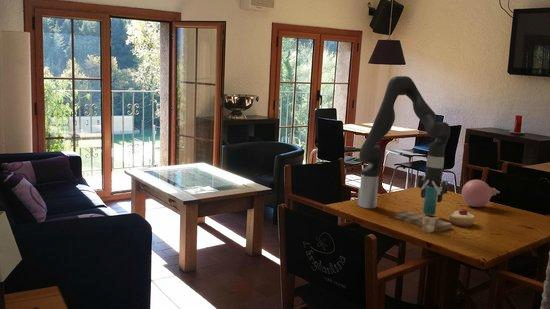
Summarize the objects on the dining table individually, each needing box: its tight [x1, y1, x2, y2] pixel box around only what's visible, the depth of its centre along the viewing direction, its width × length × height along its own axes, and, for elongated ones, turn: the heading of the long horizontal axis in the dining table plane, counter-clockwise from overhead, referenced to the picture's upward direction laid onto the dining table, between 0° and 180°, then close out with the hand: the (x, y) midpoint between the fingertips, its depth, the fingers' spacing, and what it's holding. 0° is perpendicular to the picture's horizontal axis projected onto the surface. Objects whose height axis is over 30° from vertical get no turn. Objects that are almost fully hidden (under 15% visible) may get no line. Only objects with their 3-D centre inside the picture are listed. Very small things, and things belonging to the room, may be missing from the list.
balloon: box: [461, 179, 501, 208], centre depth 294 cm, size 15×20×15 cm
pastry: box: [449, 206, 476, 228], centre depth 259 cm, size 12×12×9 cm
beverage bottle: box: [422, 187, 438, 216], centre depth 270 cm, size 6×7×20 cm
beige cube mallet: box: [421, 216, 441, 233], centre depth 248 cm, size 4×10×6 cm, turn 130°
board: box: [393, 210, 453, 233], centre depth 258 cm, size 26×10×2 cm, turn 39°
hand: (431, 199), depth 244 cm, fingers open, 8 cm apart
